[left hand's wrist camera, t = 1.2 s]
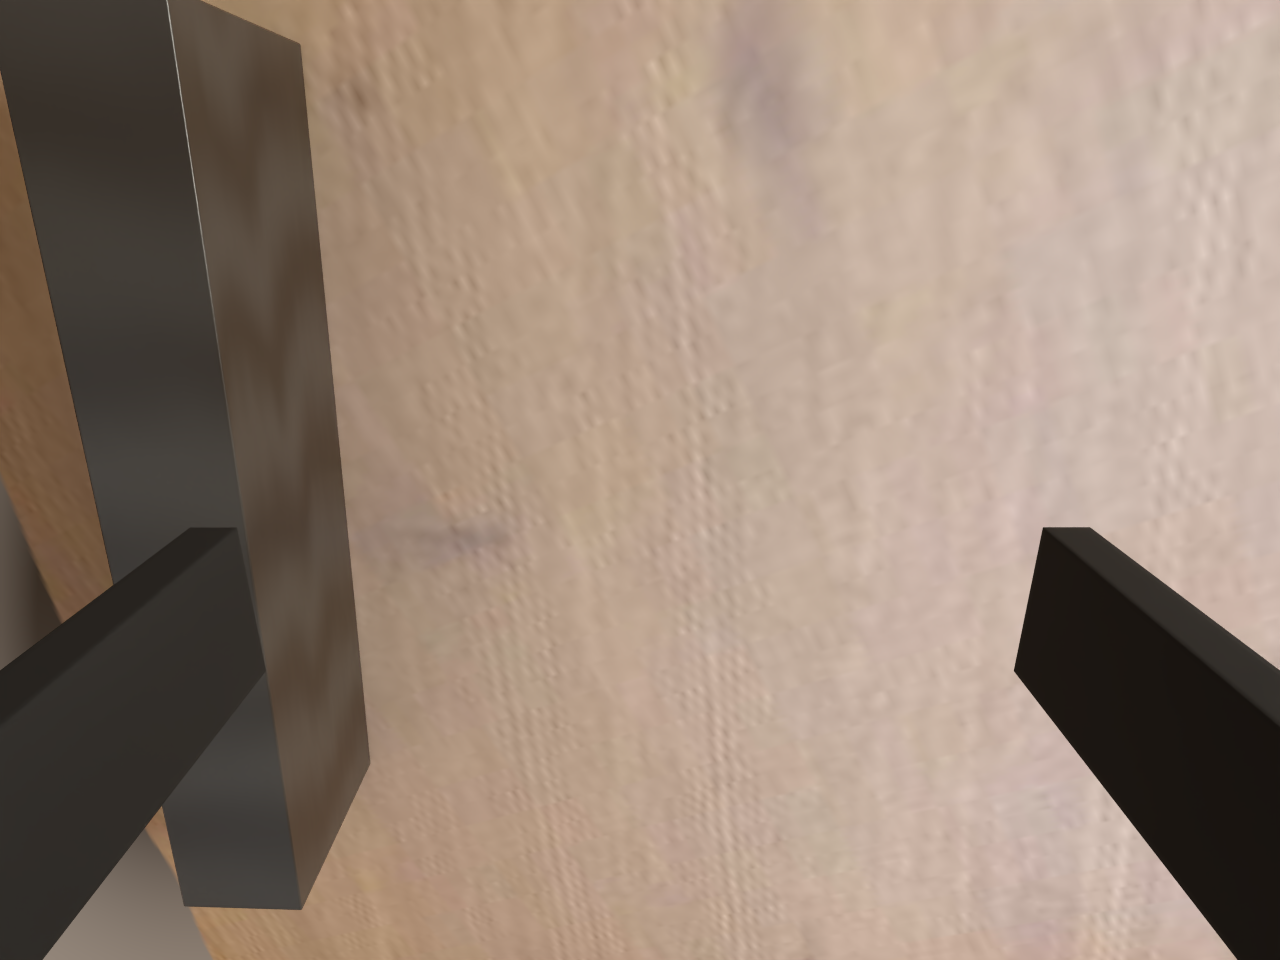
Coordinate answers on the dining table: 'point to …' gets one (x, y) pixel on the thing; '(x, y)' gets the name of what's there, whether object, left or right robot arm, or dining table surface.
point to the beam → (205, 384)
